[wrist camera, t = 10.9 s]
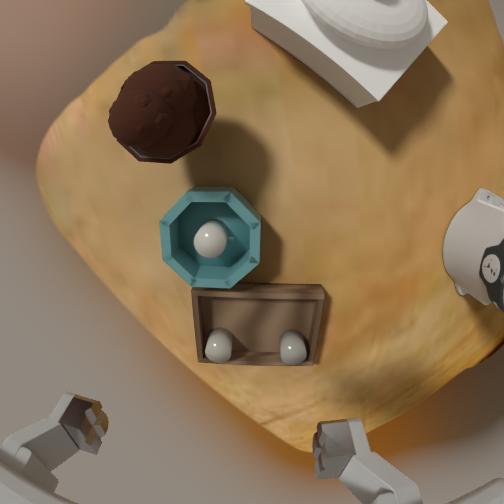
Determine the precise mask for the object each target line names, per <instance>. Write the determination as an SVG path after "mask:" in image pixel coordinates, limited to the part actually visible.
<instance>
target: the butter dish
mask: <svg viewBox="0 0 504 504" xmlns="http://www.w3.org/2000/svg"><path fill="white" fill-rule="evenodd" d="M245 4H246V5H248V6H250V10H251V24H252V28H253V29H254V30H256V31H258V32H259V33H261V34H262V35H264V36H265V37H267V38H268V39H270V40H271V41H273V42H274V43H276V44H277V45H279V46H280V47H282V48H283V49H285V50H286V51H287V52H289V53H290V54H292V55H293V56H294V57H296V58H297V59H298V60H300V61H301V62H302V63H304V64H305V65H306V66H308V67H309V68H310V69H312V70H313V71H314V72H315V73H317V74H318V75H319V76H320V77H322V78H323V79H324V80H325V81H326V82H328V83H329V84H330V85H331V86H332V87H334V88H335V89H336V90H337V91H338V92H339V93H341V94H342V95H343V96H344V97H345V98H346V99H347V100H348V101H350V102H351V103H352V104H353V105H354V106H355V107H356V108H359V107H362V106H364V105H367V104H370V103H373V102H378V101H379V100H381V99H382V98H383V96H384V95H385V94H386V93H387V92H388V91H389V89H390V88H391V87H392V86H393V85H394V84H395V83H396V81H397V80H398V79H399V78H400V77H401V76H402V74H403V73H404V72H405V71H406V70H407V69H408V67H409V66H410V65H411V64H412V63H413V62H414V61H415V59H416V58H417V57H418V56H419V55H420V54H421V52H422V51H423V50H424V49H425V48H426V47H427V46H428V44H429V43H430V42H431V41H432V40H433V39H434V37H435V36H436V35H437V34H438V33H439V32H440V31H441V29H442V28H443V27H444V26H445V25H446V24H447V23H448V22H447V20H446V19H445V18H444V17H443V16H442V15H441V14H440V13H439V12H438V11H437V10H436V9H435V8H434V7H433V6H432V5H431V4H430V3H429V2H427V1H426V0H246V1H245Z"/></svg>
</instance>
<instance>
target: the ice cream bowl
mask: <svg viewBox="0 0 504 504" xmlns="http://www.w3.org/2000/svg"><path fill="white" fill-rule="evenodd" d="M109 114H110V115H109V119H108V123H109V126H110V129H111V131H112V134H113V136H114V137H115V138H117V141H118V142H119V143H120V144H121V145H122V146H123V147H124V148H125V149H126V150H127V151H128V152H130V153H131V154H132V155H133V156H134V157H135V158H136V159H137V160H138V161H142V162H157V163H170V164H171V163H173V162H174V161H176V160H177V159H179V158H181V157H182V156H184V155H186V154H187V153H189V152H191V151H192V150H194V149H196V148H197V147H199V146H201V144H202V142H203V140H204V138H205V136H206V134H207V132H208V130H209V128H210V125H211V123H212V121H213V119H214V117H215V115H216V108H215V102H214V97H213V92H212V86H211V81H210V80H209V79H208V78H207V77H205V76H204V75H203V74H202V73H200V72H199V71H198V70H197V69H195V68H194V67H193V66H192V65H190V64H189V63H188V62H186V61H153V62H151V63H150V64H148V65H146V66H145V67H143V68H142V69H140V70H139V71H136V72H134V73H133V74H132V75H131V76H129V77H128V79H127V80H125V82H124V84H123V86H122V87H121V91H120V93H119V95H118V98H117V100H116V101H115V102H113V105H112V107H111V108H110V110H109Z"/></svg>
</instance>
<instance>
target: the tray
mask: <svg viewBox="0 0 504 504" xmlns="http://www.w3.org/2000/svg"><path fill="white" fill-rule="evenodd" d="M191 294H192V306H193V317H194V328H195V338H196V347H197V356H198V362H202V363H216V364H233V365H259V366H312V365H313V360H314V355H315V350H316V344H317V339H318V333H319V328H320V322H321V316H322V309H323V303H324V296H325V293H324V291H323V289H322V286H321V284H276V283H242V282H237V283H236V284H235V285H234V286H232V287H231V288H209V287H192V290H191ZM218 327H222V328H226V329H228V330H229V331H230V332H231V333H232V335H233V344H232V351H231V357H230V359H229V360H227V361H225V362H222V363H218V362H214V361H211V360H210V359H209V358H208V357H207V356H206V354H205V349H206V345H207V341H208V337H209V334H210V332H211V330H213V329H214V328H218ZM292 329H293V330H298V331H300V332H301V333H302V334H303V338H304V342H305V347H306V352H307V356H306V358H305V360H304V361H302V362H301V363H299V364H295V365H290V364H286V363H284V362H283V361H282V359H281V353H280V342H279V338H280V336H281V334H282V333H283V332H285V331H287V330H292Z"/></svg>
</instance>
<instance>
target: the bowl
mask: <svg viewBox="0 0 504 504" xmlns="http://www.w3.org/2000/svg"><path fill="white" fill-rule="evenodd" d="M210 219H218V220H221V221H222V222H224V223H225V224H226V226H227V227H228V230H229V236H228V240H227V243H226V246H225V249H224V251H223V252H222V253H221V254H220V255H219V256H217V257H214V258H207V257H204V256H202V255H200V254H199V253H198V252H197V250H196V249H195V246H194V238H195V235H196V234H197V232H198V231H199V229H200V228H201V226H202V225H203V224H204V223H205V222H206V221H207V220H210ZM260 229H261V215H260V214H259V213H258V212H257V211H256V210H255V209H254V208H253V206H252V205H251V204H250V203H249V201H248V200H247V199H246V198H245V197H243V196H242V195H241V194H240V193H239V192H238V191H237V190H236V189H235V188H234V187H221V186H208V187H193V188H192V189H190V190H189V191H187V192H186V193H185V194H184V195H183V196H182V197H181V198H180V199H179V201H178V202H177V203H176V204H175V205H174V206H173V207H172V208H171V209H170V210H169V211H168V212H167V214H166V215H165V216H164V217H163V218H162V219H161V220H160V234H161V247H162V258H163V261H164V262H165V263H166V264H167V265H169V266H170V267H171V268H172V269H173V270H174V271H175V272H176V273H177V274H178V275H179V276H180V277H181V278H182V279H184V280H185V281H186V282H187V283H188V284H189V285H190V286H191V287H209V288H231V287H232V286H234V285H235V284H236V283H237V282H238V281H239V280H241V279H242V278H243V277H244V276H245V275H246V274H248V273H249V272H250V271H251V270H252V269H253V268H255V267H256V266H257V265H258V264H259V260H260Z"/></svg>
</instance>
